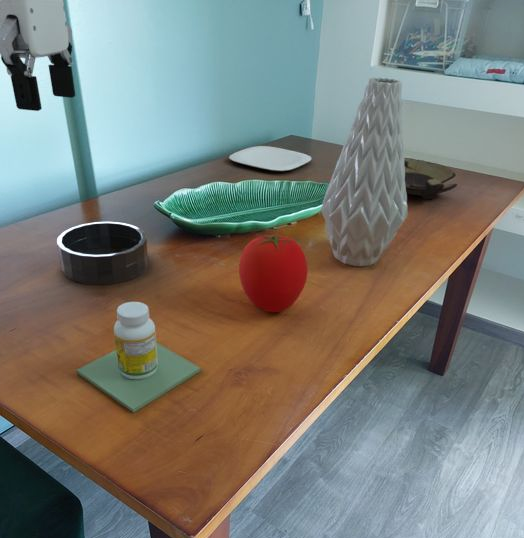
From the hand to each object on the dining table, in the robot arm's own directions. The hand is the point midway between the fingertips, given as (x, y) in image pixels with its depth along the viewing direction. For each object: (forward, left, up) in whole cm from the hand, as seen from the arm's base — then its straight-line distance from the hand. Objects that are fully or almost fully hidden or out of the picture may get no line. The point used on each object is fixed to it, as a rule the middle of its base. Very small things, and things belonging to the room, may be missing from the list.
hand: (47, 102), depth 74 cm
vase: (+48, -26, -31) cm, 63 cm away
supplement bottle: (-7, -24, -30) cm, 39 cm away
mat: (-7, -24, -30) cm, 39 cm away
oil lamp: (+95, -15, -31) cm, 101 cm away
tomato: (+20, -26, -31) cm, 45 cm away
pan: (+10, +6, -30) cm, 32 cm away
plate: (+87, +28, -31) cm, 96 cm away
